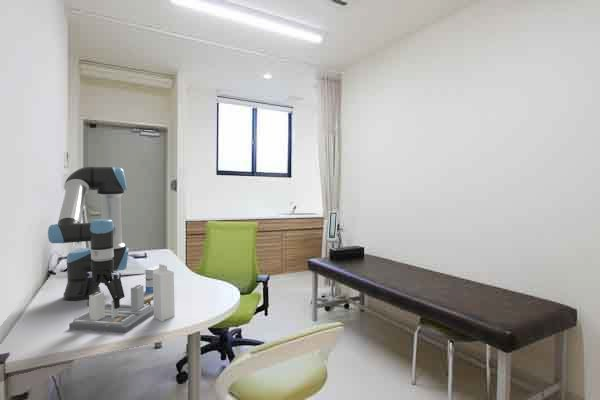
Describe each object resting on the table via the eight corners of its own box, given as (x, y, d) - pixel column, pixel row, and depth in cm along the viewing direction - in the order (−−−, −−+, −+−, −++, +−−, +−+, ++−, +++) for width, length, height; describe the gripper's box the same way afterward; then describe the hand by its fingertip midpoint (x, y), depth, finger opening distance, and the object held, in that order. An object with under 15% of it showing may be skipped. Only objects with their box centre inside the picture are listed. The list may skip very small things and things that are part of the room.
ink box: (153, 292, 160) (153, 269, 160) (145, 291, 161) (144, 269, 161) (164, 287, 169) (163, 265, 168) (156, 286, 170) (155, 265, 169)
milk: (167, 313, 134) (166, 262, 133) (174, 316, 131) (174, 264, 130) (153, 317, 129) (152, 265, 129) (161, 321, 126) (160, 267, 125)
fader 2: (131, 311, 130) (130, 287, 129) (137, 308, 134) (137, 284, 133) (137, 312, 129) (137, 287, 129) (144, 308, 133) (143, 284, 133)
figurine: (128, 314, 138) (164, 300, 145) (126, 304, 137) (161, 291, 144) (128, 311, 141) (163, 298, 148) (126, 302, 141) (161, 289, 148)
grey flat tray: (69, 328, 119) (69, 320, 119) (108, 308, 139) (108, 301, 139) (126, 332, 116) (126, 323, 116) (158, 311, 136) (157, 303, 136)
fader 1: (90, 320, 121) (89, 294, 121) (98, 316, 125) (97, 291, 125) (97, 321, 121) (96, 295, 120) (104, 316, 125) (104, 291, 124)
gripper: (69, 260, 119) (71, 317, 120) (120, 262, 116) (121, 321, 117) (85, 255, 127) (87, 310, 128) (134, 258, 123) (135, 313, 124)
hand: (103, 315), depth 122 cm, fingers open, 9 cm apart
